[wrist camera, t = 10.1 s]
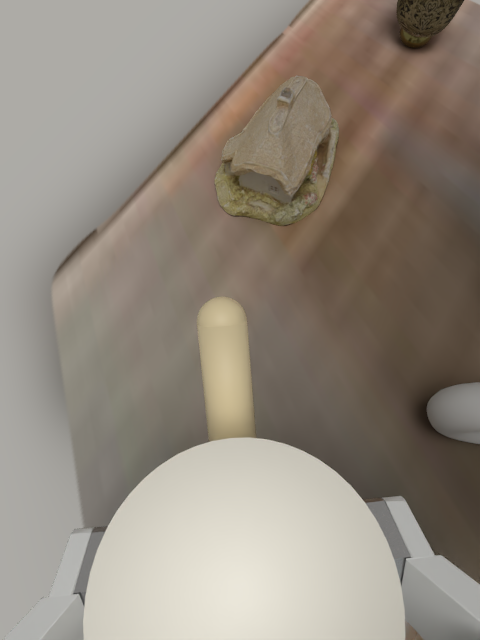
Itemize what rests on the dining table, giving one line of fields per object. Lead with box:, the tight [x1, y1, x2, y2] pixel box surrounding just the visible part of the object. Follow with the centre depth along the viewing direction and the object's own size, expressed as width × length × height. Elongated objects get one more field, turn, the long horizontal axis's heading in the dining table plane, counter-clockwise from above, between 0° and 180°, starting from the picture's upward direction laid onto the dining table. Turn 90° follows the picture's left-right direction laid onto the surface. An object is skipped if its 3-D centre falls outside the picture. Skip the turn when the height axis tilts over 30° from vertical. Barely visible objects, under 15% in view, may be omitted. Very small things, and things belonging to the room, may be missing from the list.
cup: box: [397, 0, 464, 48], centre depth 45 cm, size 8×7×8 cm
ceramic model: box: [215, 76, 339, 226], centre depth 38 cm, size 14×11×10 cm
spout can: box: [83, 297, 405, 640], centre depth 11 cm, size 9×5×8 cm, turn 5°
